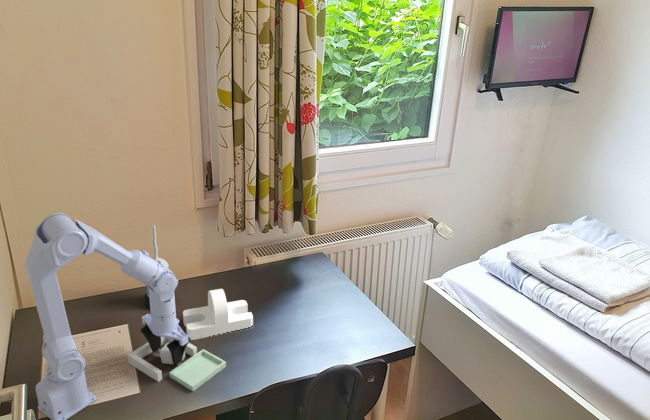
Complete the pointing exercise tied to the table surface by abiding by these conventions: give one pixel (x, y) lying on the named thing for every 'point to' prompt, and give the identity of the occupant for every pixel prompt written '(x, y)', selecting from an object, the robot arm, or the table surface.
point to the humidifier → (147, 300)
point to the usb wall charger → (166, 355)
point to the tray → (197, 370)
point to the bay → (146, 367)
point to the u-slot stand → (217, 316)
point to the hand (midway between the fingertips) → (166, 356)
